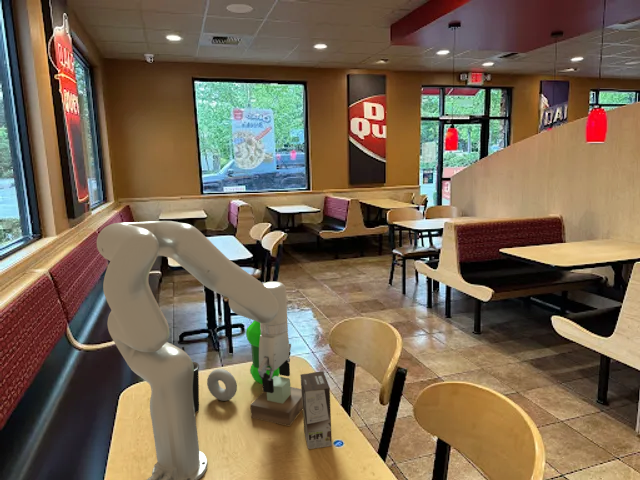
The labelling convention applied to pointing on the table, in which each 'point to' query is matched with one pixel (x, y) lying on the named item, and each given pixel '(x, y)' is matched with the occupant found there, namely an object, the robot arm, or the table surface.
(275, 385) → the green block
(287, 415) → the walnut plinth
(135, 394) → the table surface
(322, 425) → the coffee box
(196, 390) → the drinking cup
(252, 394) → the table surface
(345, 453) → the table surface
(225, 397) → the donut
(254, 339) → the plastic bottle
